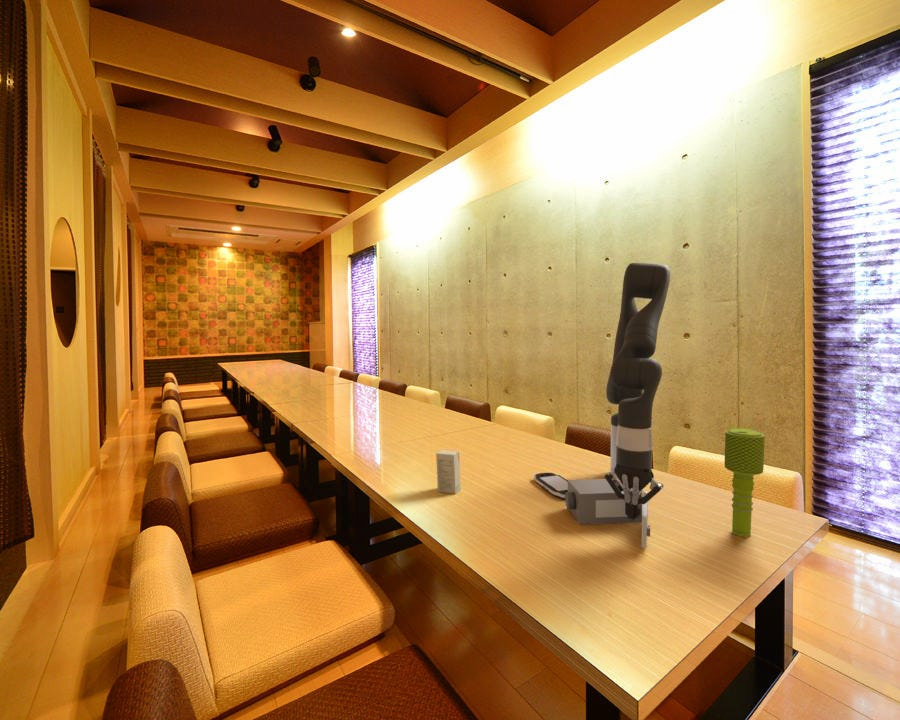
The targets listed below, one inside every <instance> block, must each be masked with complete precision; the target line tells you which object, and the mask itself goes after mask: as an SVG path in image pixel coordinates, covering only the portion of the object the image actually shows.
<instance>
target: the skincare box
mask: <svg viewBox="0 0 900 720" xmlns="http://www.w3.org/2000/svg"><path fill="white" fill-rule="evenodd" d="M435 455H436V457H435V459H436V480H437V492H438V493H447V494H453V495H456V494H457V493H458V492H460V491H461V489H462V487H461V483H462V482H461V465H460V462H461V461H460V451H459V450H445V449H441V450H439V451H437V452H436V453H435Z"/></svg>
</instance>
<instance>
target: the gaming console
mask: <svg viewBox="0 0 900 720" xmlns="http://www.w3.org/2000/svg"><path fill="white" fill-rule="evenodd" d="M533 480H534V482H535V483H536V484H538V485H539V486H541V487H542V488H543V489H544V490H546V491H547V492H548V493H550V494H551V495H552V496H554V497H555V498H557V499H561V500H565V494H566V492H568V480H569V479H566V478H565V477H564V476H561V474H557V473H554V472H540V473H536V474H534V475H533Z"/></svg>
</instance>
